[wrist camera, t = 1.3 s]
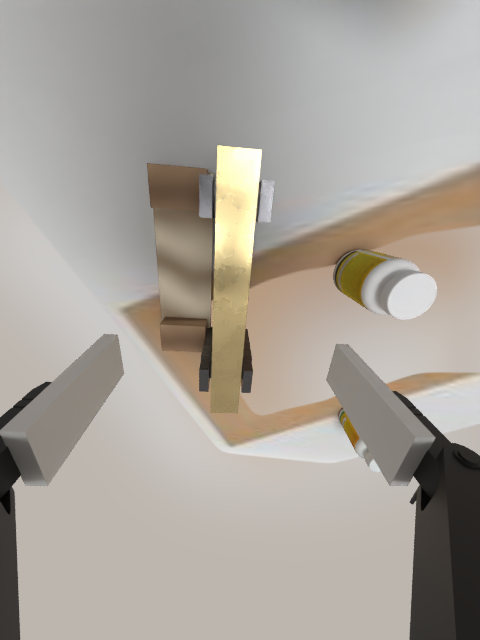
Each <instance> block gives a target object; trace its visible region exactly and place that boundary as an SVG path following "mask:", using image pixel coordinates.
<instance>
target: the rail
mask: <svg viewBox="0 0 480 640" xmlns="http://www.w3.org/2000/svg"><path fill="white" fill-rule="evenodd" d="M261 153H262V150H259V149H248V148H238V147H228V146H218V145H217V181H216V219H215V258H214V296H213V335H212V373H211V412H210V413H238V405H239V394H240V383H241V372H242V361H243V350H244V339H245V327H246V317H247V306H248V295H249V285H250V274H251V263H252V252H253V241H254V230H255V219H256V208H257V197H258V186H259V175H260V164H261Z"/></svg>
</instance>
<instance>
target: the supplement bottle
mask: <svg viewBox="0 0 480 640" xmlns="http://www.w3.org/2000/svg"><path fill="white" fill-rule="evenodd" d="M339 420H340V423H341V424H342V426H343V428H344V430H345V432H346V434H347V436H348V438H349V440H350V441H351V443H352V445H353V447H354V449H355V451H356V453H357V454H358V455H359V456H360V457H361V458H364V459H365V461H366V463H367V465H368V466H369V468H370V469H371V470H372V471H374V472H381V470H380V469H379V467H378V465H377V464H376V462H375V460H374V459H373V457H372V455H371V454H370V452H369V450H368V449H367V447H366V445H365V444H364V442H363V440H362V439H361V437H360V435H359V434H358V432H357V430H356V429H355V427H354V425H353V424H352V422H351V420H350V419H349V417H348V415H347V414H346V412H345V410H344V409H342V410H341V411H340V413H339Z"/></svg>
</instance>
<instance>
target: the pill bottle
mask: <svg viewBox="0 0 480 640" xmlns="http://www.w3.org/2000/svg"><path fill="white" fill-rule="evenodd" d="M333 279H334V283H335V285H336V287H337V288H338V289H339V290H340V291H341V292H342V293H344V294H345V295H347V296H348V297H350V298H351V299H353V300H354V301H356V302H357V303H359V304H360V305H362V306H363V307H365V308H366V309H368V310H369V311H371V312H373V313H375V314H379V315H391V316H393V317H394V318H397V319H401V320H408V319H412V318H415V317H417V316H419V315H421V314H422V313H424V312H425V311H426V310H427V309H428V308H429V307H430V306H431V305H432V303H433V301H434V300H435V297H436V294H437V286H436V282H435V280H434V279H433V278H432V277H431V276H430V275H427V274H425V273H422V272H420V270H419V268H418V267H417V266H416V265H415V264H414V263H412V262H410V261H408V260H405V259H402V258H398V257H394V256H390V255H386V254H382V253H378V252H373V251H369V250H363V249H358V250H353V251H351V252H349V253H347V254H345V255H344V256H343V257H342V258H341V259H340V260H339V261H338V263H337V264H336V266H335V269H334V274H333Z"/></svg>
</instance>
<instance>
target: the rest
mask: <svg viewBox="0 0 480 640" xmlns="http://www.w3.org/2000/svg"><path fill="white" fill-rule="evenodd" d="M147 168H148V181H149V193H150V206H151V208H153V211H154V225H155V238H156V251H157V265H158V278H159V292H160V305H161V318H162V322H161V324H160V333H161V346H162V350H164V351H189V352H202V350H203V345H204V340H205V335H206V331H207V328H211V287H212V241H213V218H203V217H199V174H207V175H213V177H214V174H213V173H209V172H208V169H204V168H193V167H182V166H171V165H161V164H150V163H147Z"/></svg>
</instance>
